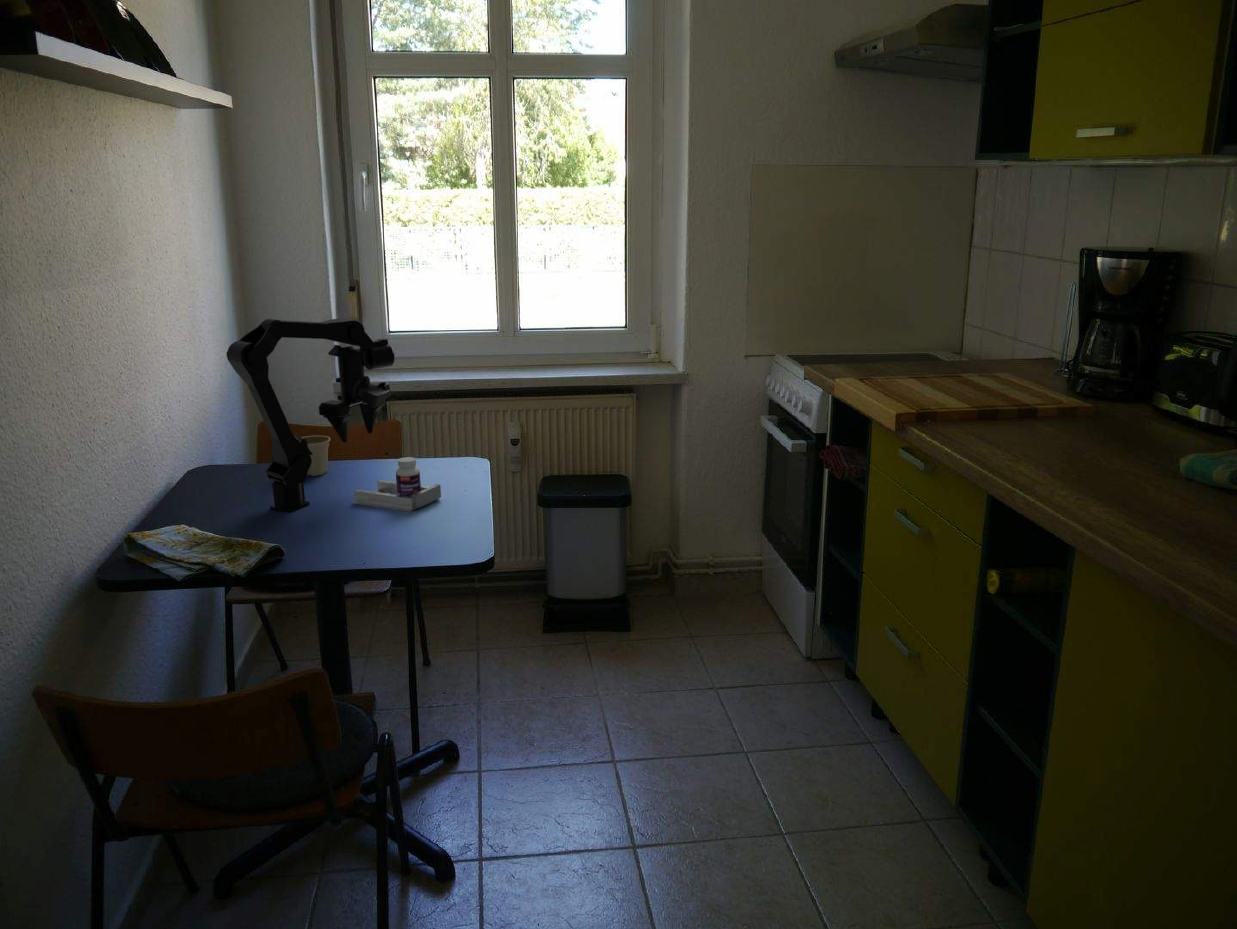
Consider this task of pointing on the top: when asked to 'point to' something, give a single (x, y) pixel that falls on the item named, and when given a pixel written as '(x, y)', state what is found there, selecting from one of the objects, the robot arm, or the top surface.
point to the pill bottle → (407, 477)
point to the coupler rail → (396, 497)
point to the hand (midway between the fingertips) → (357, 437)
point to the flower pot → (318, 454)
